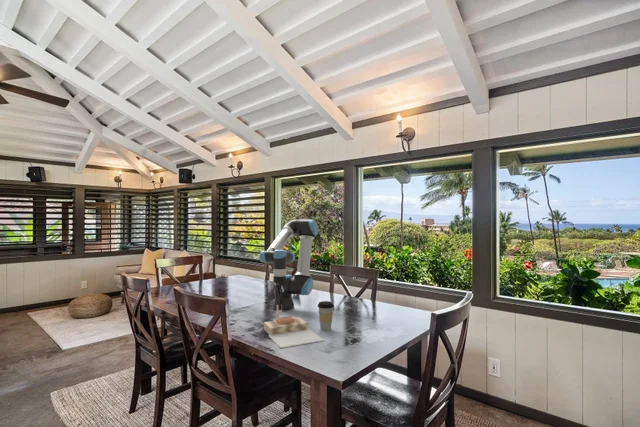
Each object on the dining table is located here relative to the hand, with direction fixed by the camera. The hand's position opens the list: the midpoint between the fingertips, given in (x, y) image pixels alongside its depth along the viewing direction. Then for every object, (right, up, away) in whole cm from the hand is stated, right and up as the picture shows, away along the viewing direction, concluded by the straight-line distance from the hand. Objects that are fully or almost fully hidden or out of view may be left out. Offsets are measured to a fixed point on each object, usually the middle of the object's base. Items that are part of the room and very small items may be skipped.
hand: (279, 315), depth 194 cm
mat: (+12, -5, -24) cm, 27 cm away
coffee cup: (+28, -6, -8) cm, 29 cm away
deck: (+5, -5, -10) cm, 12 cm away
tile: (+4, -1, -9) cm, 10 cm away
